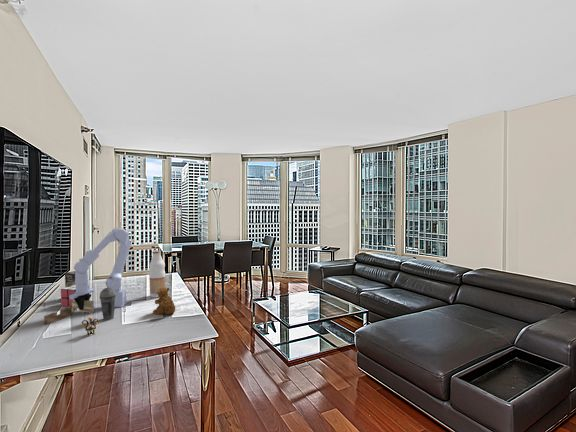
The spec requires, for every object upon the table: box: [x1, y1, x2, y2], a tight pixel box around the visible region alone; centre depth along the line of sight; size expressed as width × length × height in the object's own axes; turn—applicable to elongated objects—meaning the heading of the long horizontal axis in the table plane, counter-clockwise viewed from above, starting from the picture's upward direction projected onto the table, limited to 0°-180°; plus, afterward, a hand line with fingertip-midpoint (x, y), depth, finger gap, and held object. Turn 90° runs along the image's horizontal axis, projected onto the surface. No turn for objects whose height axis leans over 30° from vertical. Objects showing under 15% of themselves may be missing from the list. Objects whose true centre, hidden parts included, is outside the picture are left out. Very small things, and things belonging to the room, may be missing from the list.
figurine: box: [81, 316, 100, 335], centre depth 145 cm, size 5×5×8 cm
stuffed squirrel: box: [152, 287, 177, 316], centre depth 172 cm, size 10×14×13 cm
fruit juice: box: [148, 250, 167, 299], centre depth 204 cm, size 9×9×28 cm
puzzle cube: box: [60, 285, 90, 308], centre depth 190 cm, size 10×10×10 cm
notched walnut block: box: [43, 306, 73, 325], centre depth 165 cm, size 14×2×4 cm, turn 168°
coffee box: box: [64, 270, 76, 288], centre depth 202 cm, size 9×6×16 cm
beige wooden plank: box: [72, 300, 95, 314], centre depth 176 cm, size 2×12×6 cm, turn 79°
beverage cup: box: [99, 278, 116, 321], centre depth 165 cm, size 7×7×20 cm
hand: (83, 308), depth 176 cm, fingers closed on beige wooden plank, 2 cm apart
